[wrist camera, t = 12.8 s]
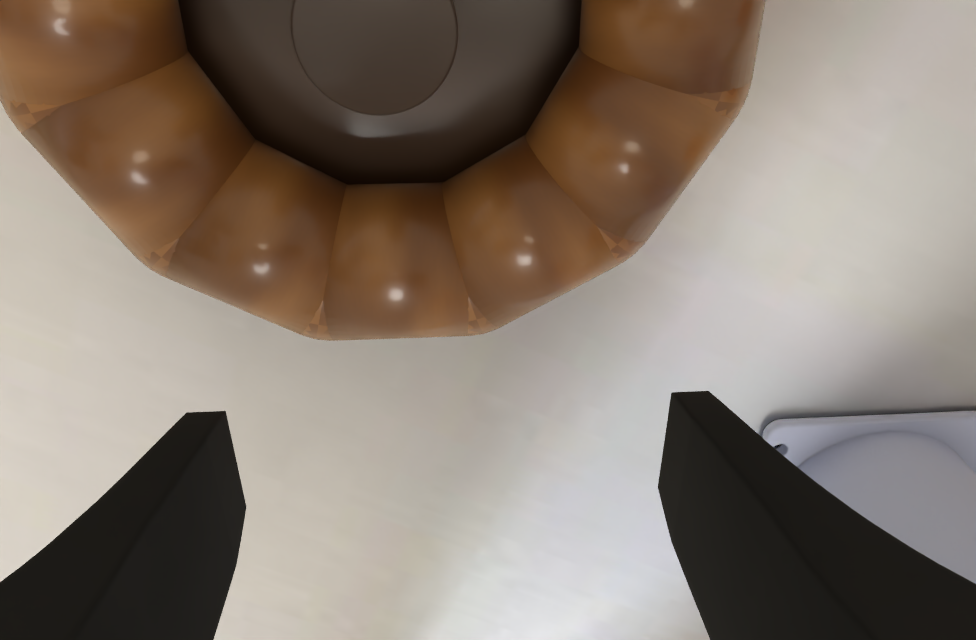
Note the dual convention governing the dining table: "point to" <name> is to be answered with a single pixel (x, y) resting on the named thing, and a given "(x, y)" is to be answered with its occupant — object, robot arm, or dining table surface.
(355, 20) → the stand
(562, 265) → the ring
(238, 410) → the dining table surface
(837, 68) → the dining table surface
